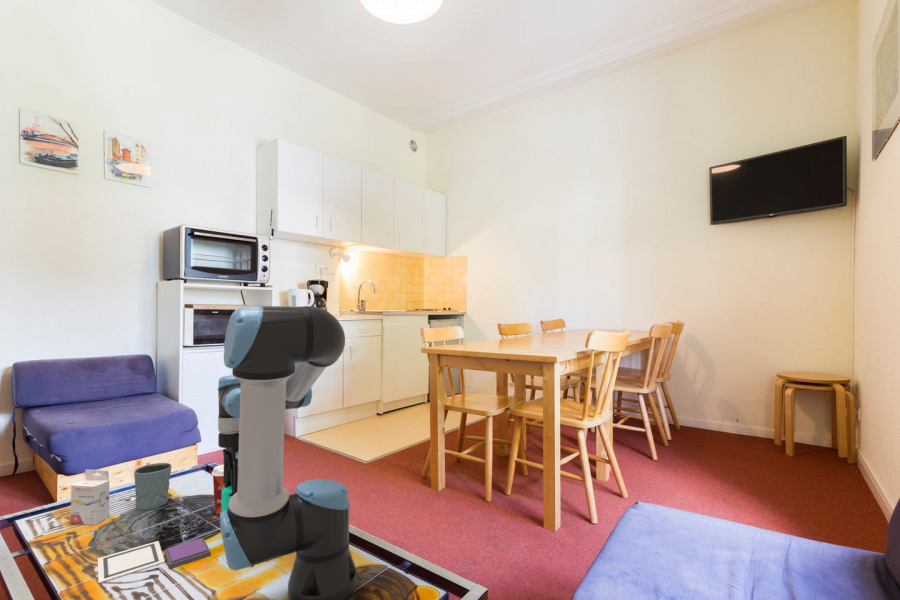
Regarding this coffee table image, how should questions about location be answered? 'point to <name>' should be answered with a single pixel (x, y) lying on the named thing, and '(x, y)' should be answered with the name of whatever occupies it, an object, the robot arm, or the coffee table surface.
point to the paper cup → (218, 487)
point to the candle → (226, 498)
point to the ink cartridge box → (90, 498)
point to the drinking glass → (152, 485)
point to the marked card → (129, 561)
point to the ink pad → (186, 552)
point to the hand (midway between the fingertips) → (233, 514)
